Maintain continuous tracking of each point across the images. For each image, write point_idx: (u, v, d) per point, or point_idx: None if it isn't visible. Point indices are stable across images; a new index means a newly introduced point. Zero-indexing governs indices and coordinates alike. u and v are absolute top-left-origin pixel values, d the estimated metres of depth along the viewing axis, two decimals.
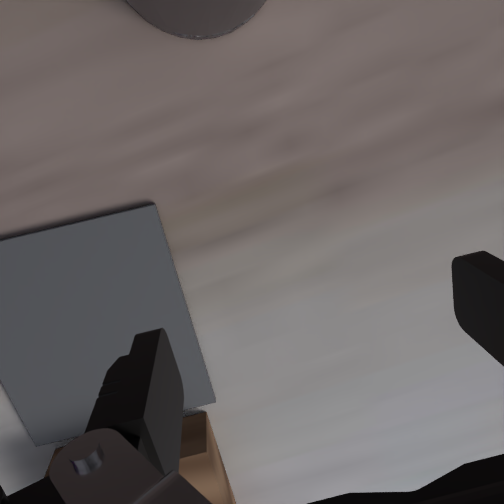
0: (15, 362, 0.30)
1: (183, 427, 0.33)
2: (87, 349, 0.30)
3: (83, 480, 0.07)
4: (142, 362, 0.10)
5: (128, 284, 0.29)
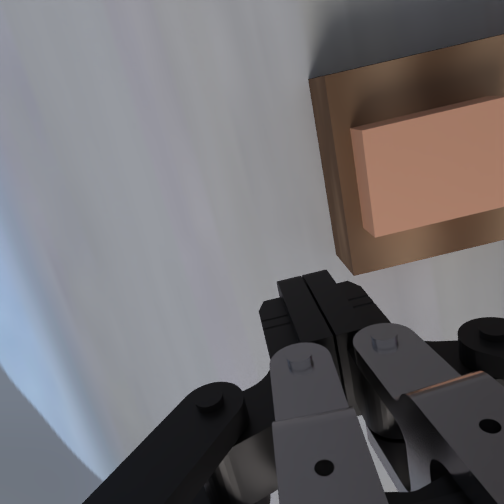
0: None
1: None
2: None
3: (311, 376, 0.08)
4: (301, 299, 0.11)
5: None
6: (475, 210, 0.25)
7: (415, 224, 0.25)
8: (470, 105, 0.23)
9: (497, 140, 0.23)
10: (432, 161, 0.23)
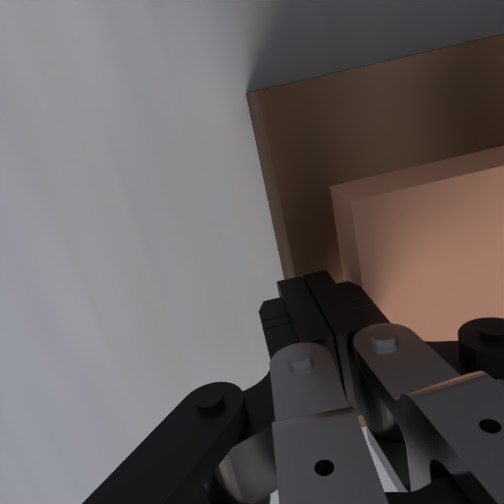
0: None
1: None
2: None
3: (311, 377, 0.08)
4: (301, 300, 0.11)
5: None
6: None
7: None
8: None
9: None
10: (493, 259, 0.12)
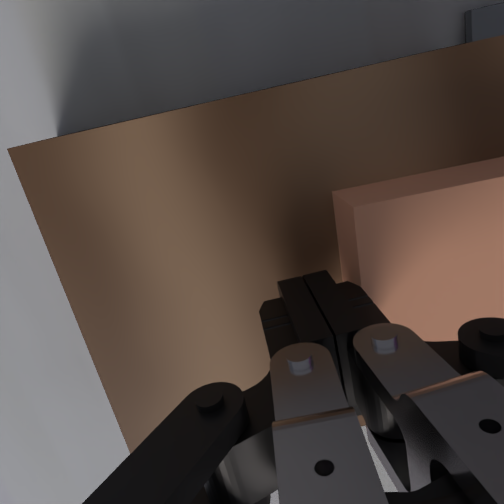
0: None
1: None
2: None
3: (312, 376, 0.08)
4: (301, 299, 0.11)
5: None
6: None
7: None
8: None
9: None
10: (491, 268, 0.12)
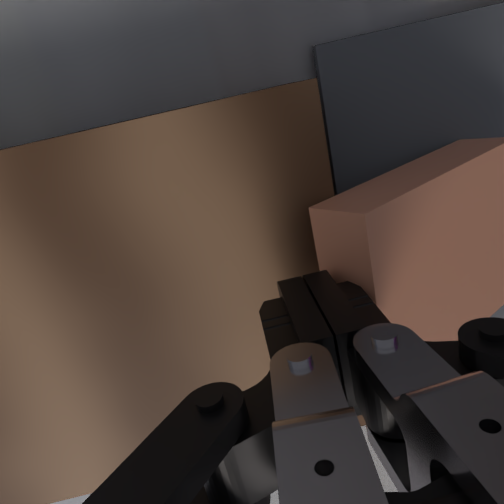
0: None
1: None
2: None
3: (311, 376, 0.08)
4: (301, 299, 0.11)
5: None
6: (490, 311, 0.16)
7: None
8: (483, 153, 0.14)
9: None
10: (450, 251, 0.13)
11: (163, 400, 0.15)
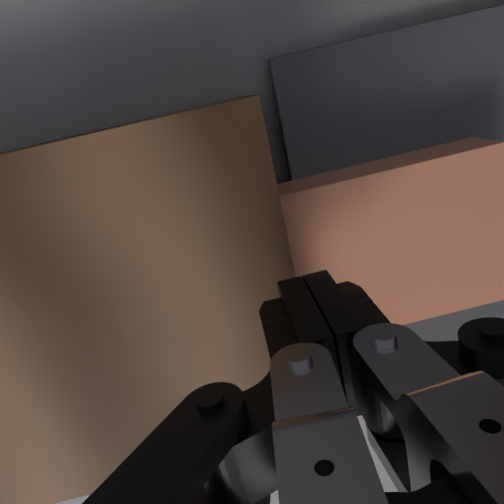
0: (480, 57, 0.15)
1: None
2: None
3: (312, 376, 0.08)
4: (301, 299, 0.11)
5: None
6: (455, 306, 0.16)
7: None
8: (444, 157, 0.15)
9: (487, 208, 0.15)
10: (388, 241, 0.15)
11: (119, 412, 0.15)
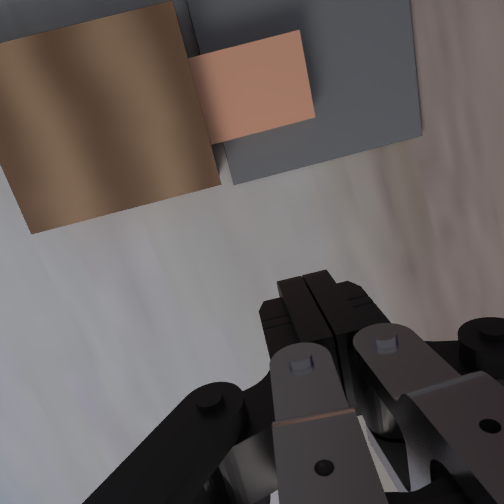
0: None
1: None
2: None
3: (312, 376, 0.08)
4: (301, 299, 0.11)
5: (360, 110, 0.34)
6: (287, 121, 0.32)
7: (241, 133, 0.32)
8: (270, 37, 0.30)
9: (295, 65, 0.31)
10: (247, 82, 0.31)
11: (115, 166, 0.30)
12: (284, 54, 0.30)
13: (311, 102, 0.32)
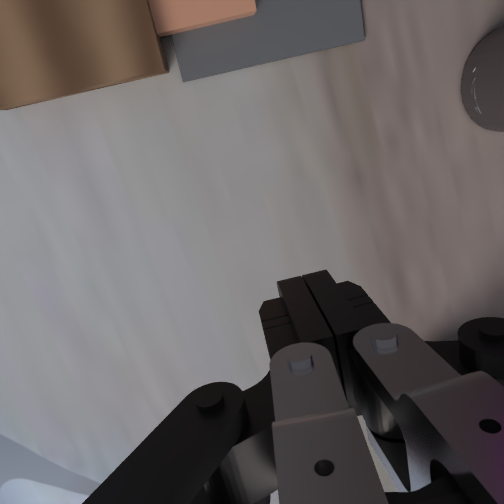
0: None
1: (161, 48, 0.35)
2: None
3: (311, 377, 0.08)
4: (301, 299, 0.11)
5: (303, 11, 0.36)
6: (229, 13, 0.34)
7: (186, 23, 0.34)
8: None
9: None
10: None
11: (63, 45, 0.32)
12: None
13: None
